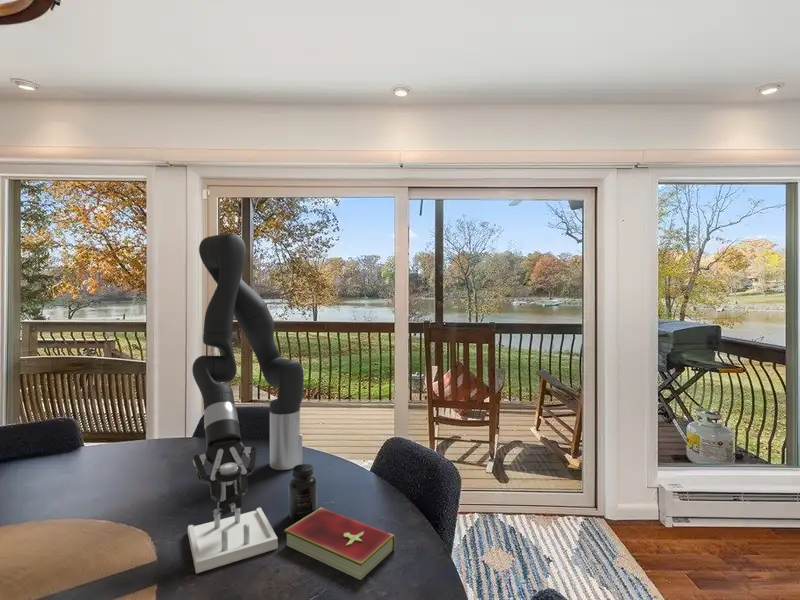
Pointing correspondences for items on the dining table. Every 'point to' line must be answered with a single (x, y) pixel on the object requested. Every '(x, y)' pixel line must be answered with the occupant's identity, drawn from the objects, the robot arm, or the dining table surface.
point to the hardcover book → (340, 542)
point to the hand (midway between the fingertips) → (230, 496)
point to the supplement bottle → (302, 492)
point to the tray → (230, 539)
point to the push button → (228, 488)
